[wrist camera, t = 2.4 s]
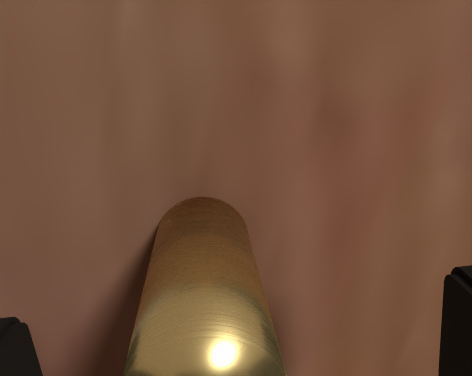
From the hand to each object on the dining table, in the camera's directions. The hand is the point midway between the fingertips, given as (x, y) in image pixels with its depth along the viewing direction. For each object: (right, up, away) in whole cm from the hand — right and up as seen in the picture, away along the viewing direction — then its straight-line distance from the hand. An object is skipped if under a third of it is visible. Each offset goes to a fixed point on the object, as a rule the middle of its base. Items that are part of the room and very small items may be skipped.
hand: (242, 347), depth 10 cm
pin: (-1, +2, +6) cm, 7 cm away
